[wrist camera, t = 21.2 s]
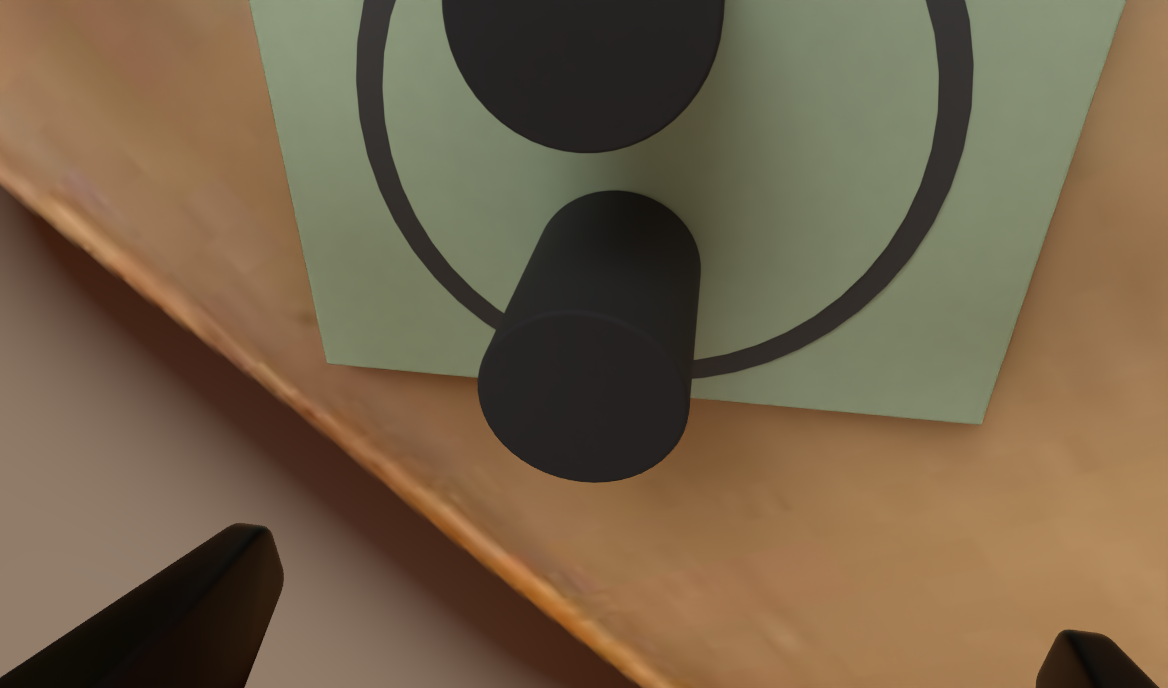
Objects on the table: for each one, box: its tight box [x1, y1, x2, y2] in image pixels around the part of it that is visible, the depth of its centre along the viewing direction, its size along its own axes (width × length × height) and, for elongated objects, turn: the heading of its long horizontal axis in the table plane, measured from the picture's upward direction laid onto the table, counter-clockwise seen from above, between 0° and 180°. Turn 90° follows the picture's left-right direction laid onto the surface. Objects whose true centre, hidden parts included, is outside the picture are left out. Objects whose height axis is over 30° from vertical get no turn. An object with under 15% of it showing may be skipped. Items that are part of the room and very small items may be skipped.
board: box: [249, 0, 1126, 425], centre depth 16 cm, size 16×13×1 cm
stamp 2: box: [478, 190, 701, 483], centre depth 16 cm, size 4×4×5 cm
